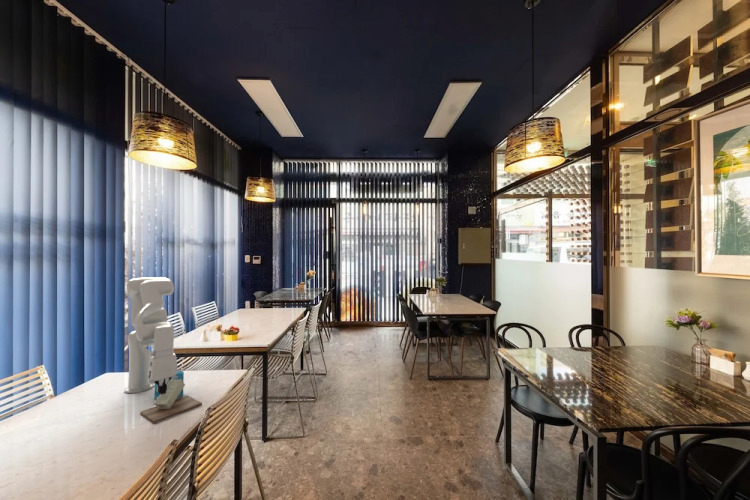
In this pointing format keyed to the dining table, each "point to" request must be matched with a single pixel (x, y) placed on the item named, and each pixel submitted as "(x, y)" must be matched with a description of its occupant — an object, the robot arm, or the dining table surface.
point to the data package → (178, 377)
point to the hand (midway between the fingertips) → (162, 393)
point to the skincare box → (169, 394)
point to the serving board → (177, 408)
